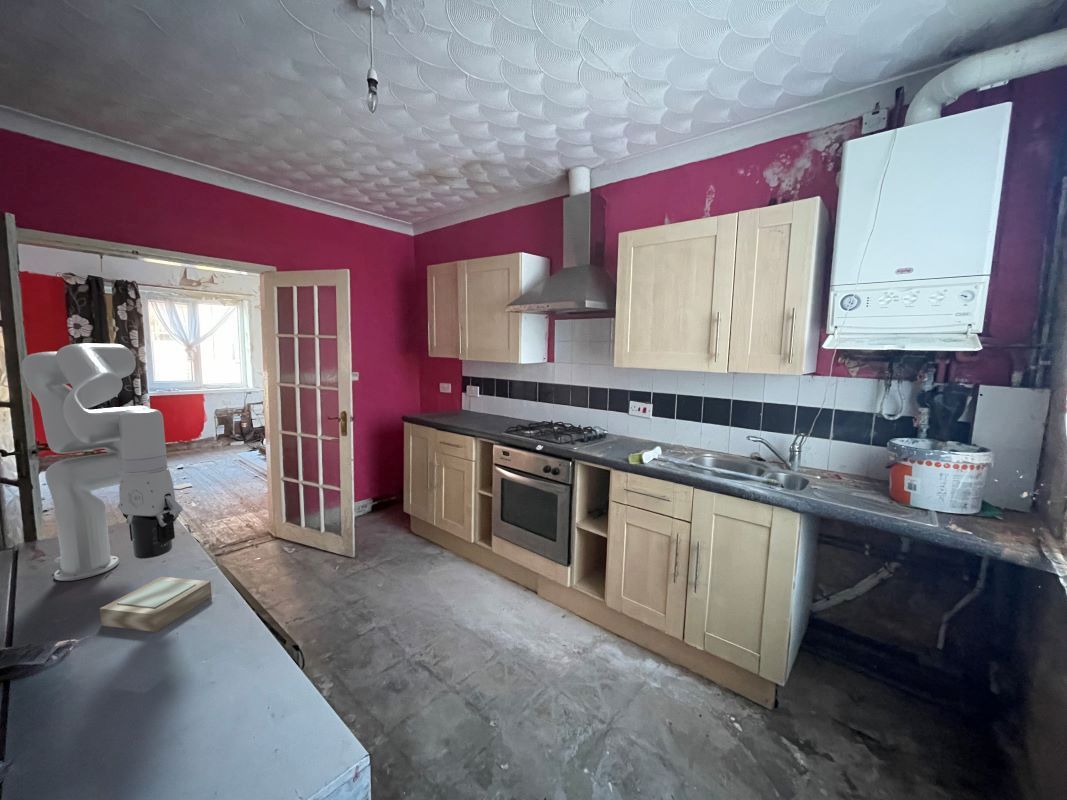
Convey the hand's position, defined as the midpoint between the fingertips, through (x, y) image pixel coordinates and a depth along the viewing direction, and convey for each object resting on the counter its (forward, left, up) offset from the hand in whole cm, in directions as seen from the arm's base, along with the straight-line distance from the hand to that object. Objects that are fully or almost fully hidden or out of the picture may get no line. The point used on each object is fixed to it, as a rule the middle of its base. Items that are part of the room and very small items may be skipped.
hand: (153, 539), depth 102 cm
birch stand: (0, 0, -17) cm, 17 cm away
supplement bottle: (0, 0, -3) cm, 3 cm away
